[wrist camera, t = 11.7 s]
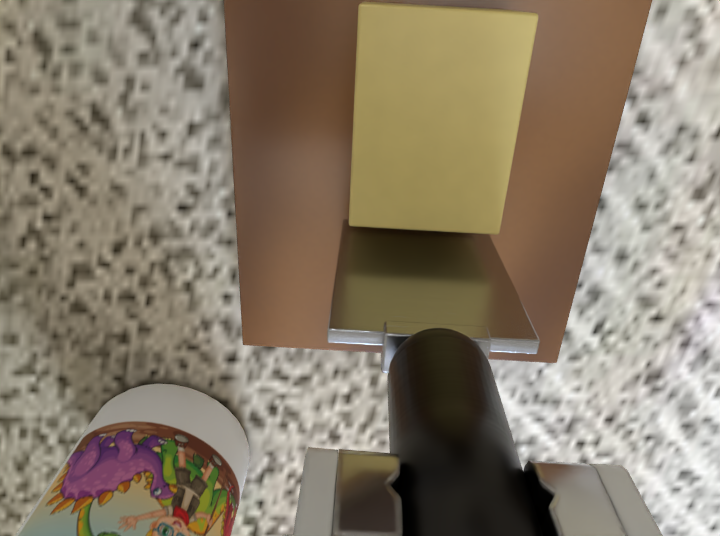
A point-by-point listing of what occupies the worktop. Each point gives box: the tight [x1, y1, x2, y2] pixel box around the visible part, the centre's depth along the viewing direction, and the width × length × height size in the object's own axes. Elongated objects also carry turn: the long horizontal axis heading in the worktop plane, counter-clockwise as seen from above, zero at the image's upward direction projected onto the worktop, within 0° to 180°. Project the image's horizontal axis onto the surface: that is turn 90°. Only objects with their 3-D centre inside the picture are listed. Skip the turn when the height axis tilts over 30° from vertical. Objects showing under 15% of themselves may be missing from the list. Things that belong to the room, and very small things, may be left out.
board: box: [224, 0, 652, 363], centre depth 19 cm, size 13×18×2 cm
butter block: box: [349, 2, 538, 235], centre depth 16 cm, size 4×6×4 cm
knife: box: [327, 219, 543, 536], centre depth 12 cm, size 5×2×16 cm, turn 87°
